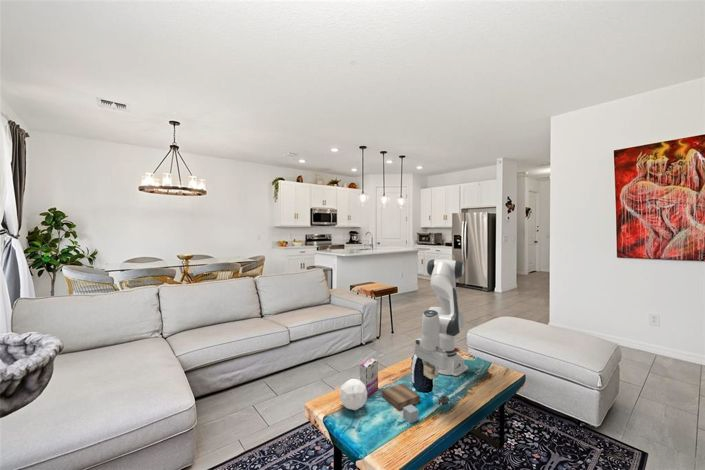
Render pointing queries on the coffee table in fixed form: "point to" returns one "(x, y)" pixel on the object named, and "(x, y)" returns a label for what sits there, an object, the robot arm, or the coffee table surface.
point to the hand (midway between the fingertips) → (430, 371)
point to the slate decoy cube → (410, 413)
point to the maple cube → (429, 371)
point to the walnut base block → (400, 396)
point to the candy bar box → (369, 375)
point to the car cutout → (444, 400)
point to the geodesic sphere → (353, 394)
